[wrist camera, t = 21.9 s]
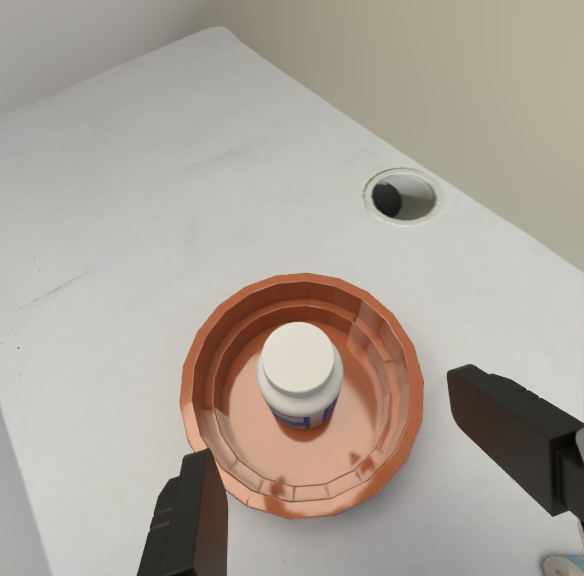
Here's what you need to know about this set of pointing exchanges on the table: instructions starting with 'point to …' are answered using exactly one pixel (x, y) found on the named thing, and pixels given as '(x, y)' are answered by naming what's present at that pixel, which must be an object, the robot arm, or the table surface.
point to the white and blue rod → (564, 565)
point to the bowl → (313, 442)
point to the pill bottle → (300, 375)
